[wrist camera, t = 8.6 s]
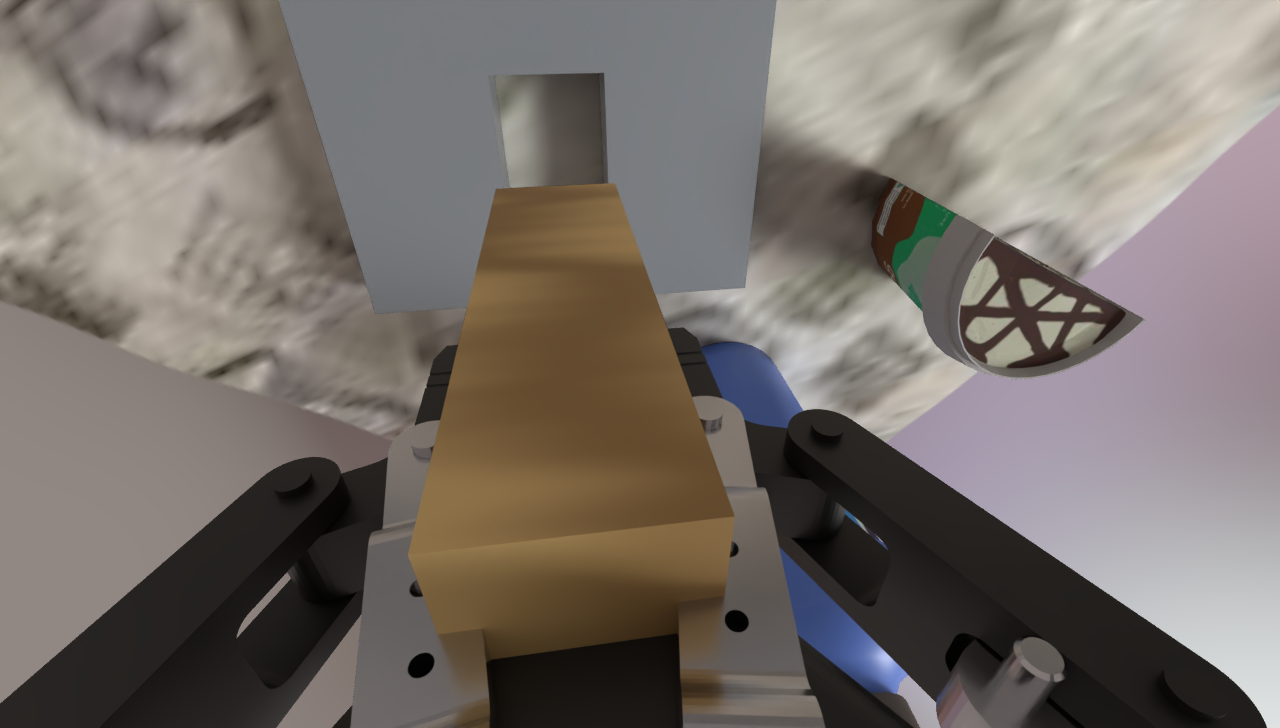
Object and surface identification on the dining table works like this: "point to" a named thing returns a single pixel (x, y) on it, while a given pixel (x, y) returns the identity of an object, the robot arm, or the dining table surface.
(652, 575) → the keyed peg
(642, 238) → the keyed plate
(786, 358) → the dining table surface
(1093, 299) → the food container
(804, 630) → the water bottle
